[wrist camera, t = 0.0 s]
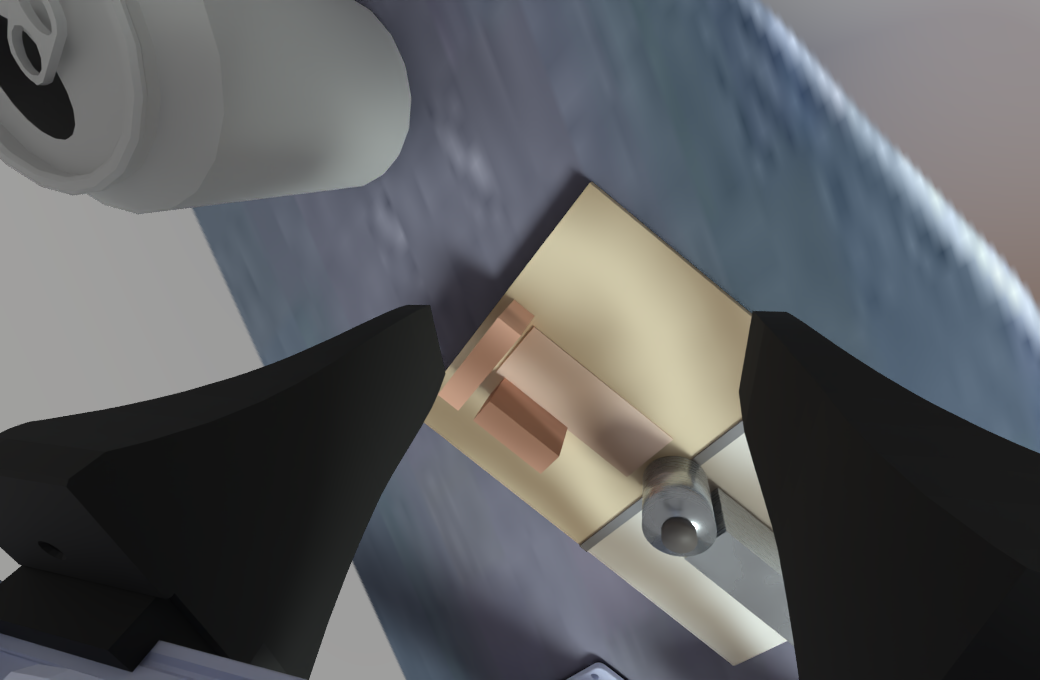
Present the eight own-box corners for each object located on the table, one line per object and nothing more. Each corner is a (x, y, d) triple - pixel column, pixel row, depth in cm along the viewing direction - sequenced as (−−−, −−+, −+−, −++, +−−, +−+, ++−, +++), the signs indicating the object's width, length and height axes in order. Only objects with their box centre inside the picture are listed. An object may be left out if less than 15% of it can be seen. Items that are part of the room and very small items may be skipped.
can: (241, 77, 21) (-173, 3, 11) (346, -49, 18) (-85, -333, 8) (340, 218, 23) (64, 278, 12) (453, 122, 20) (218, 89, 9)
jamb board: (731, 652, 27) (747, 748, 22) (419, 406, 26) (373, 457, 21) (1000, 519, 20) (1096, 620, 16) (592, 181, 19) (575, 190, 15)
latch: (629, 479, 23) (626, 525, 20) (673, 444, 21) (677, 488, 19) (797, 613, 23) (817, 676, 20) (850, 587, 22) (879, 650, 19)
